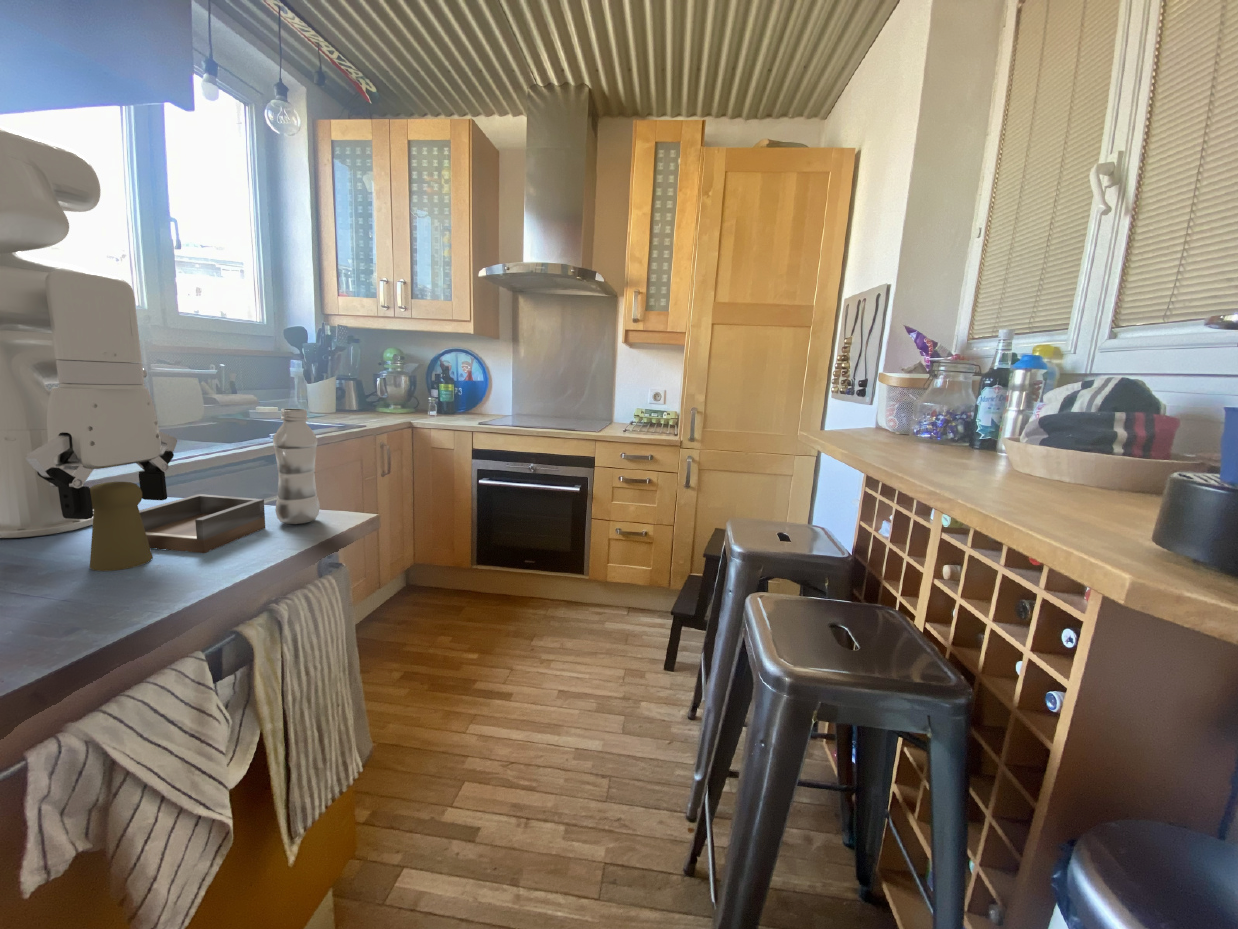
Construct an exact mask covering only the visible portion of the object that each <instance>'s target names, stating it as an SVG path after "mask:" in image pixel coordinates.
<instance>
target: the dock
mask: <svg viewBox="0 0 1238 929" xmlns="http://www.w3.org/2000/svg"><path fill="white" fill-rule="evenodd" d="M139 512H140V516H141V519H142V522H143V526H144V529H145V533H146V536H147V539H148V543H149V546H150V548H157V549H156V550H161V549H166V550H165V551H173V552H185V551H188V552H187V553H197V554H198V553H199V554H206V553H209V552H210V551H213V550H216V549H218V548H221V547H223V546H226V545H228V544H230V543H233V542H235V541H237V540H239V539H243V538H245V537H247V536H250V535H252V534H254V533H257V532H259V531H261V530H264V529H266V518H265V517H266V516H265V514H266V513H265V499H262V498H250V497H242V496H241V497H238V496H229V495H228V496H226V495H215V494H203V493H198V494H193V495H191V496H188V497H183V498H179V499H176V500H171V501H169V502H165V503H162V504H159V505H154V506H150V507H147V508H144V509H139ZM225 544H226V545H225Z"/></svg>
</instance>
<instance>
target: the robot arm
mask: <svg viewBox="0 0 1238 929" xmlns="http://www.w3.org/2000/svg"><path fill="white" fill-rule="evenodd" d="M99 180H100V179H99V177H98V175H97V172H96V171H95V169H94V168H93V166H92V165H91V164H90V162H89V161H88V160H87V158H85V157H84V156H83V155H81V154H80V153H79V152H78V151H75V150H74V149H72V148H69V147H66V146H63V145H61V144H57V143H54V142H51V141H49V140H44V139H41V138H38V137H36V136H35V137H34V136H32V135H29V134H25V133H22V132H19V131H16V130H13V129H10V128H6V127H3V126H0V539H13V538H14V539H15V538H17V539H18V538H29V537H39V536H40V537H41V536H47V535H55V534H60V533H66V532H71V531H74V530H75V531H76V530H78V529H82V528H86V527H89V526H91V525H92V526H93V514H94V510H93V508H92V500H91V493H90V487H89V486H87V485H85V486H84V484H85V482H86V481H88V478H89V476H91V474H92V473H93V471H94V470H100V469H107V468H108V469H109V468H114V467H120V466H127V465H133V464H136V465H137V466H139V467H140V468H141V469H142V471H141V470H140V471H138V481H139V487H140V489H141V491H142V500H146V501H147V500H148V501H164V500H165V501H166V500H167V499H168V493H167V482H166V481H167V480H166V474H165V472H167V471H169V469H170V466H169V464H170V462H171V461H172V459H173V458H174V452H175V449H176V446H177V443H178V438H176V437H174V436H172V435H169V434H167V433H165V432H163V431H160V426H159V421H158V416H157V413H156V409H155V404H154V402H153V399H152V397H151V393H150V391H149V389H148V387H146V386H145V385H146V384H145V378H146V377H147V376H148V372H147V370H146V369H144V368H143V360H142V353H141V343H140V335H139V325H138V318H137V317H138V316H137V315H138V314H137V307H136V298H135V292H134V289H133V287H132V286H131V285H130V283H128V282H127V281H125V280H124V279H121V278H119V277H116V276H111V275H107V274H102V273H96V272H90V271H88V270H87V269H85V268H83V267H79V266H77V265H73V264H68V263H63V262H58V261H51V260H47V259H40V258H35V257H31V256H29V255H27V254H26V253H24V252H27V251H28V252H29V251H33V250H41V249H47V248H50V247H52V246H54V245H56V244H59V243H60V242H63V240H64V239H66V238H67V236H68V234H69V231H70V223H69V222H70V221H69V219H68V217H67V215H66V212H73V213H77V212H78V213H84V212H85V213H86V212H88V211H92V210H93V209H94V208H96V207H97V206H98V205H99V204H98V203H99V202H100V199H101V184H100V181H99ZM48 384H58V386H52V387H51V389H48V388H47V386H46V385H48Z"/></svg>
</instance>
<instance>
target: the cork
mask: <svg viewBox="0 0 1238 929" xmlns="http://www.w3.org/2000/svg"><path fill="white" fill-rule="evenodd" d="M89 488H90V493H91V500H92V508H93V510H94V514H93V524H92V530H91V531H92V532H91V543H90V544H91V545H90V556H89V557H90V558H89V568H91V569H90V570H92V571H99V572H113V571H120V570H121V571H123V570H127V569H132V568H136V567H139V566H142V565H145V564H147V562H148V561H149V562H151V561H152V560H153V558H154V557H153V554H152V550H151V549H150V546H149V543H148V539H147V536H146V533H145V529H144V526H143V522H142V519H141V516H140V512H139V510H140V509H139V504H140V503H141V501H142V500H143V499H142V491H141V489H140V485H138V484H136V483H135V482H130V481H108V482H107V481H106V482H102V483H97V484H94V485H92V486H91V487H89ZM151 559H152V560H151ZM150 560H151V561H150ZM149 562H148V563H149Z"/></svg>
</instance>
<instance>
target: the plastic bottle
mask: <svg viewBox="0 0 1238 929" xmlns="http://www.w3.org/2000/svg"><path fill="white" fill-rule="evenodd" d="M307 412H308V411H307V409H304V408H290V407H289V408H281V410H280V414H281V416H280V421H282V424H281V425H280V426H279V428H278V429H277V431H276V432H275V434H274V436H273V438H272V444H273V445H272V446H273V449H274V454H275V458H276V459H275V460H276V466H277V471H278V474H277V475H278V484H277V490H278V491H277V498H276V502H275V514H276V518H277V519H278V521H279V522H280V523H282V524H286V525H299V524H306V523H311V522H313V521H315V520H316V519H317V518H318V516H319V513H320V501H319V497H318V494H317V486H316V478H315V477H316V476H315V473H316V471H315V469H316V456H317V449H318V446H317V445H318V438H317V435H316V433H315V432H314V431H313V430H312V428H311V427H310V426H309V425H308V424H307V421H308V420H309V418H308V415H307V414H308V413H307Z"/></svg>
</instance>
